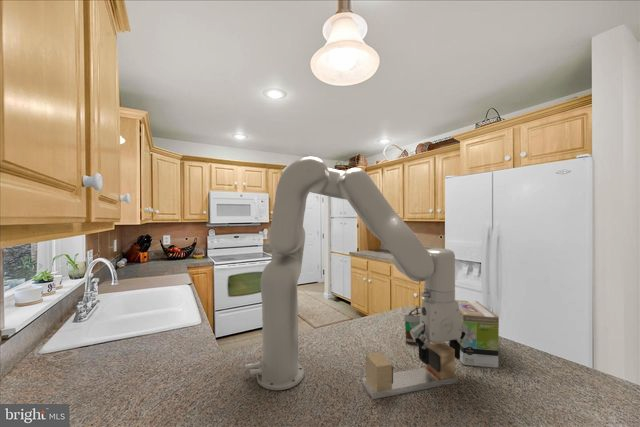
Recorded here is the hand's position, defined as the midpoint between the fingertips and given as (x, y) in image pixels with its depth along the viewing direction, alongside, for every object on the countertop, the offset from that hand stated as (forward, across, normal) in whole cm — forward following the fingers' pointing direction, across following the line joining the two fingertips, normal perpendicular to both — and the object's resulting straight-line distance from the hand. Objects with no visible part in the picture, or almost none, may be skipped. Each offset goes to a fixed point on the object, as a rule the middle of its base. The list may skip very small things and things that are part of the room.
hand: (439, 359), depth 73 cm
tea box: (+5, +18, +8) cm, 20 cm away
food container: (+5, +8, +20) cm, 22 cm away
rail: (+5, -9, 0) cm, 10 cm away
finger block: (+3, 0, 0) cm, 3 cm away
